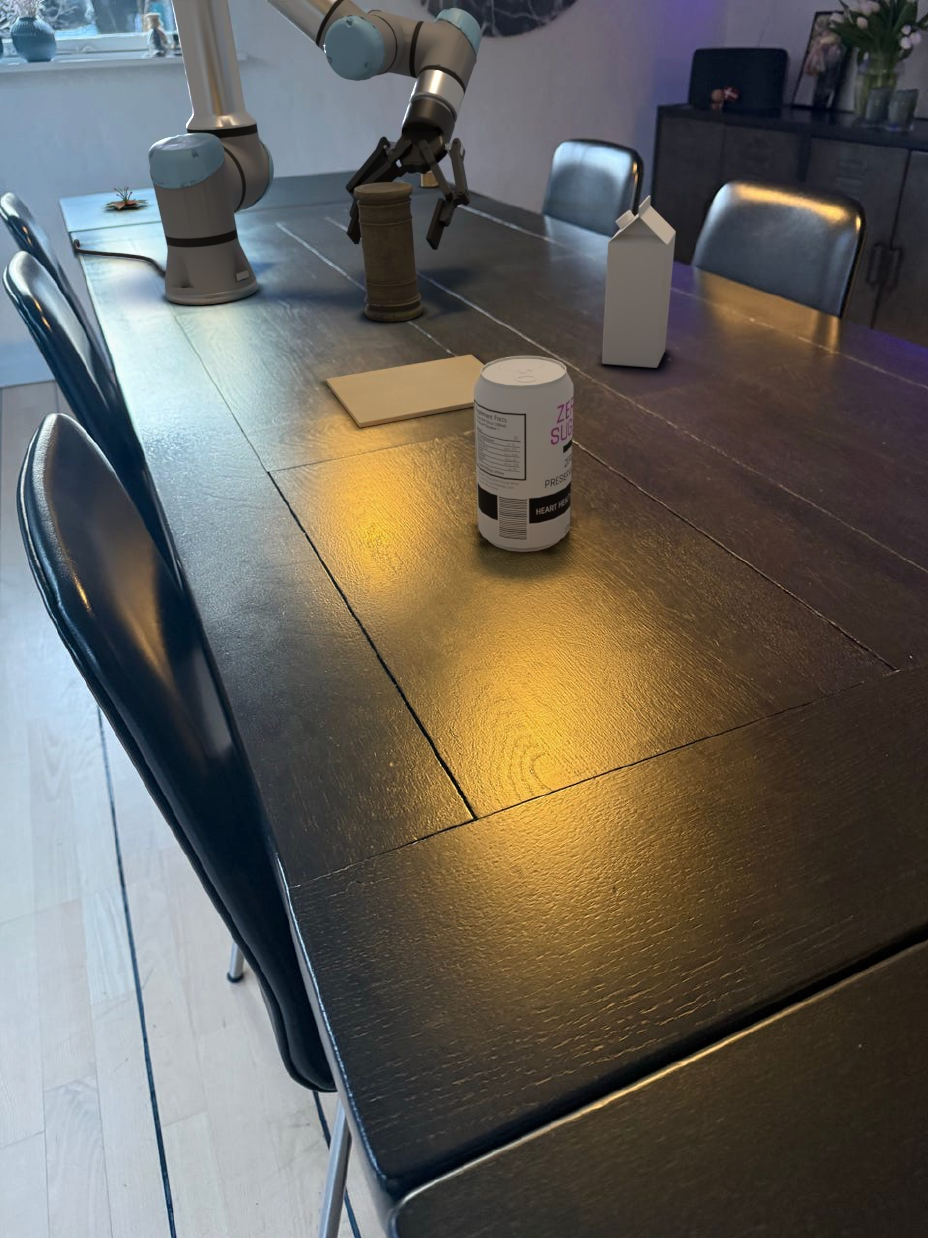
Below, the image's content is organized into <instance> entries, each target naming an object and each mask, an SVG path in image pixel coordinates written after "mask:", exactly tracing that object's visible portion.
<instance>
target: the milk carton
mask: <svg viewBox="0 0 928 1238" xmlns="http://www.w3.org/2000/svg"><path fill="white" fill-rule="evenodd" d="M615 224H616V225H617V227H618V228H619V230H618V231H617V232H615V234H614V235H613V236H612V237H611V238H610V240H609V241H608V242H607V253H606V254H607V255H606V273H605V274H606V275H605V295H604V314H603V315H604V316H603V333H602V334H603V335H602V352H601V353H602V355H601V357H602V358H601V364H603V365H612V366H613V365H615V366H624V367H625V366H626V367H640V368H653V369H655V368H658V367H659V364H660V362H661V360H662V359H663V356H664V354H665V352H666V346H667V334H668V321H669V311H670V301H671V289H672V278H673V277H672V276H673V267H674V257H675V244H676V233H677V232H676V230H675V229H674V228H673V227H672V226H671V225H670V224H669V223H668V222H667V221H666V220H665V219H664V217H662V216H661V215H660V214H659V213H658V212H657V210H656V209H655V208H653V207H652V205H651V195H647V197H646V198H645V199H644V200H643V202H641V204H640V205H639V206H638V213H637V214H636V215H634V214H633V212H632V210H631V209H628V210H626V212H624V213H623V214H622V215H621V216H620V217H619V218H617V219H616V220H615Z"/></svg>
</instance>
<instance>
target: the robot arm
mask: <svg viewBox="0 0 928 1238" xmlns="http://www.w3.org/2000/svg"><path fill="white" fill-rule="evenodd" d="M264 1H265V2H266V3H267V4H268V5H269V6H270V7H272V8H273V9H274V10H275V11H276V12H278V14H279V15H281V17H283V18H284V19H285V20H286V21H288V22H289V23H290V24H291V25H292V26H293V27H295V28H296V29H297V30H298V31H299V32H300V33H301V34H302V35H304V36H305V37H306V38H307V39H308V40H310V42H312V43H313V44H314V45H315V46H316V47H318V48H319V49H320V51H322V52H323V53H324V55H325V58H326V61H327V63H328V65H329V67H330V68H331V70H332V71H333V72H334V73H335V74H336V75H337V76H339V77H341V78H342V79H345V80H348V81H354V82H361V81H367V80H370V79H371V78H374V77H376V76H382V75H384V74H389V73H391V74H396V75H400V76H404V77H410V78H413V79H416V81H415V84H414V87H413V89H412V93H411V95H410V98H409V104H408V105H407V108H406V112H405V115H404V118H403V120H402V124H401V134H400V136H399V138H398V139H397V140H396V141H390V140H388V137H386V136H385V135H384V136H381V137H380V139H379V140H378V143H377V144H376V147H375V149H374V150H373V152H372V153H371V154H370V155H369V157H368V158H367V159H366V160H365V161H364V162H363V164H362V165H361V167H360V168H359V169H358V170H357V171H356V173H355V174H354V175H353V176H352V177H351V178H350V180H349V181H348V183H346V185H345V190H346V191H347V193H348V194H349V196H350V197H351V198H352V203H351V207H350V209H349V217H350V220H349V224H348V226H347V230H346V235H347V236H348V238H349V239H350V240H351V242H352V243H353V244H354V245H359V244H360V242H361V231H360V223H359V208H358V205H357V201H358V199H357V198H356V197H355V196H354V190H355V188H356V187H358V186H361V185H366V184H372V183H382V182H394V181H395V180H396V179H398V178H402V177H404V176H405V175H406V174H420V175H421V174H426V173H427V172H429V171H430V170H431V171H432V173H433V175H434V177H435V179H436V181H437V183H438V187H439V189H440V191H441V193H442V196H443V197H444V198H443V197H438V199H437V201H436V205H435V207H434V211H433V215H432V217H431V221H430V223H429V227H428V230H427V233H426V236H425V240H426V242H427V243H428V245H429V247H430V248H431V249H432V250H433V251H438V249H439V246H440V243H441V240H442V237H443V233H444V231H445V227H446V228H449V226H450V225H451V222H452V219H453V216H454V214H455V211H456V209H457V208H458V206H460V205H461V206H462V205H463V206H469V204H470V203H471V197H470V193H469V185H468V181H467V175H466V170H465V164H464V161H465V157H466V150H465V147H464V145H463V143H462V141H461V139H460V138H459V137H455V138H453V139H452V137H453V133H454V130H455V127H456V123H457V121H458V117H459V114H460V110H461V108H462V105H463V102H464V99H465V95H466V91H467V89H468V86H469V83H470V80H471V77H472V74H473V71H474V69H475V65H476V64H477V61H478V53H479V50H480V46H481V42H482V36H483V35H482V31H481V30H482V29H481V27H480V24H479V23H478V21H477V20H476V19H475V18H474V17H473V16H472V15H471V14H470V13H469V12H467V11H466V10H463V9H461V8H458V7H457V8H456V7H451V8H447V9H443V10H441V11H440V12H439V14H438V15H437V17H436V19H434V22H431V21H423V20H417V19H414V18H408V17H405V16H401V15H397V14H393V13H389V12H385V11H382V10H380V9H373V8H371V9H370V8H365V7H360V6H359V5H357V4H356V2H354V1H353V0H264ZM171 4H172V9H173V15H174V19H175V26H176V31H177V36H178V41H179V47H180V53H181V57H182V61H183V62H182V63H183V67H184V73H185V77H186V78H185V79H186V83H187V88H188V94H189V99H190V104H191V109H192V115H191V117H190V118H189V120H188V122H187V123H186V126H185V127H186V128H185V129H186V133H183V134H178V135H175V136H170V137H166V138H164V139H161V140H158V141H157V142H155V143H154V144H153V145H152V146H150V148H149V150H148V155H147V156H148V157H147V158H148V165H149V176H150V179H151V182H152V185H153V189H154V190H153V191H154V194H155V199H156V203H157V207H158V212H159V216H160V221H161V225H162V228H163V235H164V238H165V243H166V249H167V251H166V265H165V269H164V268H163V266H161V265H160V264H159V262H157V261H156V260H155V259H154V258H152V257H149V256H145V255H141V254H134V253H126V252H125V253H124V252H111V251H100V250H90V249H89V250H88V249H82V248H79V247H80V246H81V243H80V240H79V238H75V239H74V240H73V242H72V246H73V250H74V252H76V253H78V254H81V255H88V256H99V257H111V258H124V259H133V260H138V261H139V260H140V261H145V262H147V263H149V264H152V265H153V266H154V267H155V268H156V269H157V270H158V271H159V272H160V273H161V274H162V275H163V276H164V277H165V278H164V291H165V295H166V299H167V300H168V301H169V302H172V303H175V304H179V305H190V306H199V305H200V306H202V305H215V304H222V303H227V302H233V301H237V300H240V299H244V298H247V297H249V296H251V295H253V294H254V293H256V291H258V289H259V286H258V281H257V280H258V279H257V277H256V274H255V271H254V269H253V267H252V265H251V263H250V261H249V259H248V257H247V255H246V253H245V250H244V249H243V247H242V245H241V243H240V239H239V235H238V234H239V233H238V228H237V223H236V217H235V214H237V213H238V212H240V211H242V210H243V211H244V210H247V209H249V208H252V207H253V206H255V205H257V204H258V203H259V202H260V201H261V200H262V199H264V198H265V197H266V195H267V194H268V193H269V191H270V189H271V187H272V184H273V182H274V181H273V180H274V176H275V175H274V174H275V168H274V160H273V157H272V154H271V150H270V149H269V147H268V146H267V144H266V143H264V142H263V140H262V138H261V137H260V136H259V135H260V134H259V129H258V123H257V120H256V119H255V118H254V117H253V116H252V115H251V114H250V113H249V112H248V110H247V109H246V104H245V100H244V99H245V98H244V92H243V87H242V86H243V85H242V80H241V74H240V73H241V72H240V69H239V67H240V66H239V62H238V56H237V55H238V54H237V50H236V44H235V36H234V31H233V23H232V19H231V13H230V6H229V0H171ZM451 140H452V141H451ZM447 155H448V157H449V158H450V162H451V167H452V173H453V180H454V186H455V190H456V191H454V192H453V190H452V188H451V187H450V185H449V183H448V181H447V178H446V177H445V175H444V173H443V171H442V170H443V169H441V166H440V164H439V163H440V162H442V160H443V159H445V157H446V156H447ZM398 161H399V163H400V166H399V165H398V164H397V162H398Z"/></svg>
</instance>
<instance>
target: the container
mask: <svg viewBox="0 0 928 1238" xmlns="http://www.w3.org/2000/svg"><path fill="white" fill-rule="evenodd" d="M413 189H414V188H413V186H412V185H411V184H410V183H407V182H401V181H399V182H398V181H397V182H396V181H392V182H382V183H372V184H366V185H361V186H358V187H356V188H355V190H354V196H355V197H356V198H357V199H358V201H357V205H358V208H359V223H360V231H361V239H360V242H361V250H362V257H363V258H362V259H363V268H364V277H363V278H364V280H363V281H364V284H365V292H366V295H365V297H364V300H363V301H364V303H366V305H365V307H364V313H365V316H366V317H367V318H368V319H370V320H372V321H377V322H385V323H386V322H391V323H392V322H393V323H394V322H403V321H409V320H412V319H415V318H417V317H420V315H422V313H423V309H424V307H423V303H422V302H421V298H422V295H421V294H420V292H419V287H418V273H417V270H416V269H417V268H416V259H415V257H416V256H415V245H414V244H415V243H414V227H413V215H412V211H411V204H412V197H410V196H411V195H412V194H413V191H414V190H413Z"/></svg>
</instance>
